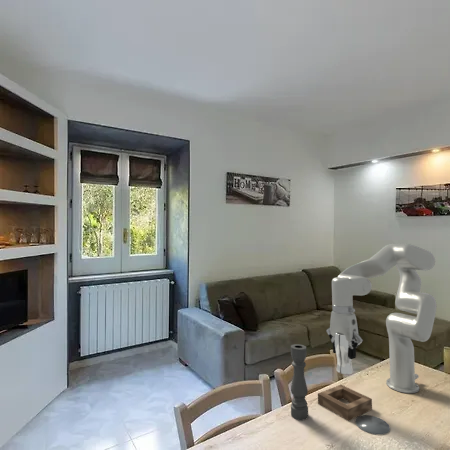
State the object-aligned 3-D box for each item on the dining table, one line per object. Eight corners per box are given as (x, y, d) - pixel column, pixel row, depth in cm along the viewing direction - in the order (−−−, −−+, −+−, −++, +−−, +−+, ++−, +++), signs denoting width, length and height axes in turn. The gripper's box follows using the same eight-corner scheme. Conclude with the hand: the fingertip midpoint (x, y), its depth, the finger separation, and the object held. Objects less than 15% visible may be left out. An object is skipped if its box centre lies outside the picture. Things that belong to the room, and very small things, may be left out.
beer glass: (356, 375, 120) (354, 335, 120) (336, 374, 122) (335, 334, 122) (352, 367, 127) (351, 330, 127) (334, 366, 128) (333, 329, 129)
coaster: (367, 412, 119) (367, 411, 119) (396, 427, 110) (396, 426, 110) (348, 422, 113) (348, 421, 113) (377, 438, 104) (377, 437, 104)
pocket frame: (341, 394, 133) (341, 384, 133) (372, 409, 121) (371, 398, 121) (317, 403, 126) (317, 393, 126) (348, 421, 114) (348, 409, 114)
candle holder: (308, 412, 120) (307, 344, 121) (307, 421, 114) (306, 350, 115) (292, 409, 122) (291, 343, 123) (289, 418, 116) (288, 348, 117)
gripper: (368, 312, 120) (370, 360, 119) (331, 304, 134) (332, 346, 134) (356, 315, 116) (357, 365, 115) (318, 306, 130) (320, 350, 130)
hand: (344, 354), depth 124 cm, fingers closed on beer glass, 6 cm apart
